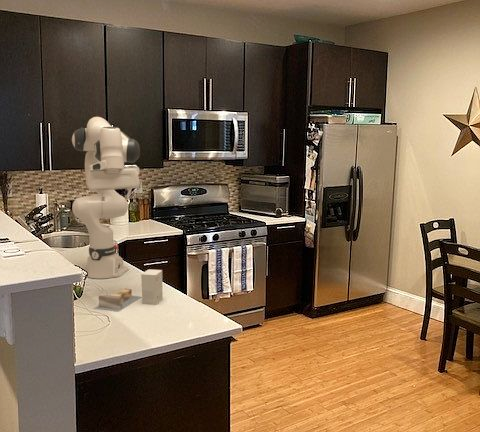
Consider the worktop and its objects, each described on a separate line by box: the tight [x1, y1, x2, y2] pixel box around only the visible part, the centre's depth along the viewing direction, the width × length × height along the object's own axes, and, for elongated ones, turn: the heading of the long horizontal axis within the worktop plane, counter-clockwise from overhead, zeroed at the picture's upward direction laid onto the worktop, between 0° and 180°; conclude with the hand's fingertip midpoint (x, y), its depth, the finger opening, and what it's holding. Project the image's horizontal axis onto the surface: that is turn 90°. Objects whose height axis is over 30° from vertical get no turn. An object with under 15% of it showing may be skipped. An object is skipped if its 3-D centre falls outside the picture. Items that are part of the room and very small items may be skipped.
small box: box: [140, 268, 164, 306], centre depth 213 cm, size 8×6×13 cm
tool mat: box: [93, 295, 142, 313], centre depth 212 cm, size 20×11×1 cm, turn 163°
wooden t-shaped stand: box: [98, 288, 133, 309], centre depth 212 cm, size 16×9×4 cm, turn 163°
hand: (115, 200), depth 208 cm, fingers open, 8 cm apart
